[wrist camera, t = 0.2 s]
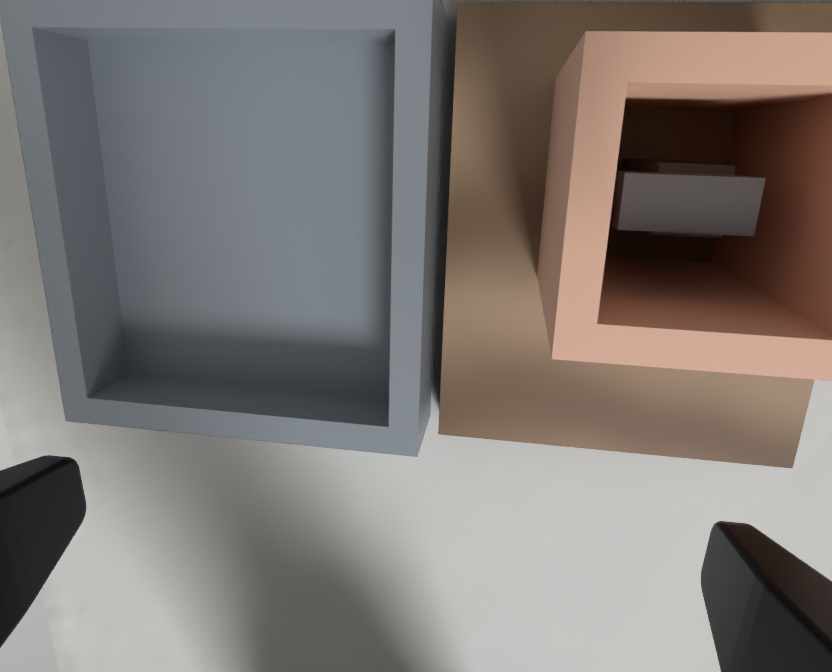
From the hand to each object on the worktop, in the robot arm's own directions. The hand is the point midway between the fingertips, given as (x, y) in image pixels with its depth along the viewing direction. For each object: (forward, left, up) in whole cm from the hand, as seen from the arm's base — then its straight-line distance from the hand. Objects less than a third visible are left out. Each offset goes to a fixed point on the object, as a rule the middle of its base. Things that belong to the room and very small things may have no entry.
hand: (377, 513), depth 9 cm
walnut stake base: (+2, -6, -14) cm, 15 cm away
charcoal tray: (+2, +7, -14) cm, 16 cm away
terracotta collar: (+4, -6, -13) cm, 14 cm away
